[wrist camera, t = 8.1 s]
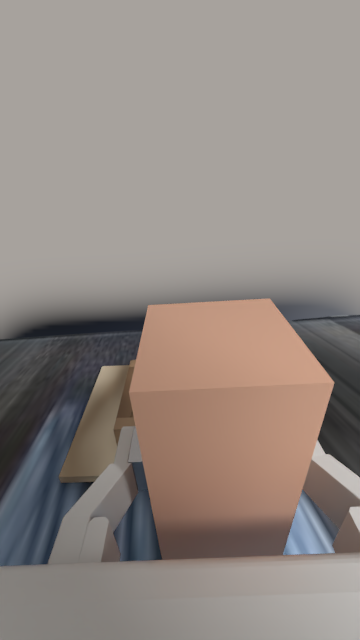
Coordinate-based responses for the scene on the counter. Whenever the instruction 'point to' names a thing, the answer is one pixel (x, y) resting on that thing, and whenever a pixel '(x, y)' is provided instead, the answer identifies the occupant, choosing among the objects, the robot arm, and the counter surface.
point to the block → (225, 425)
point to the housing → (100, 425)
